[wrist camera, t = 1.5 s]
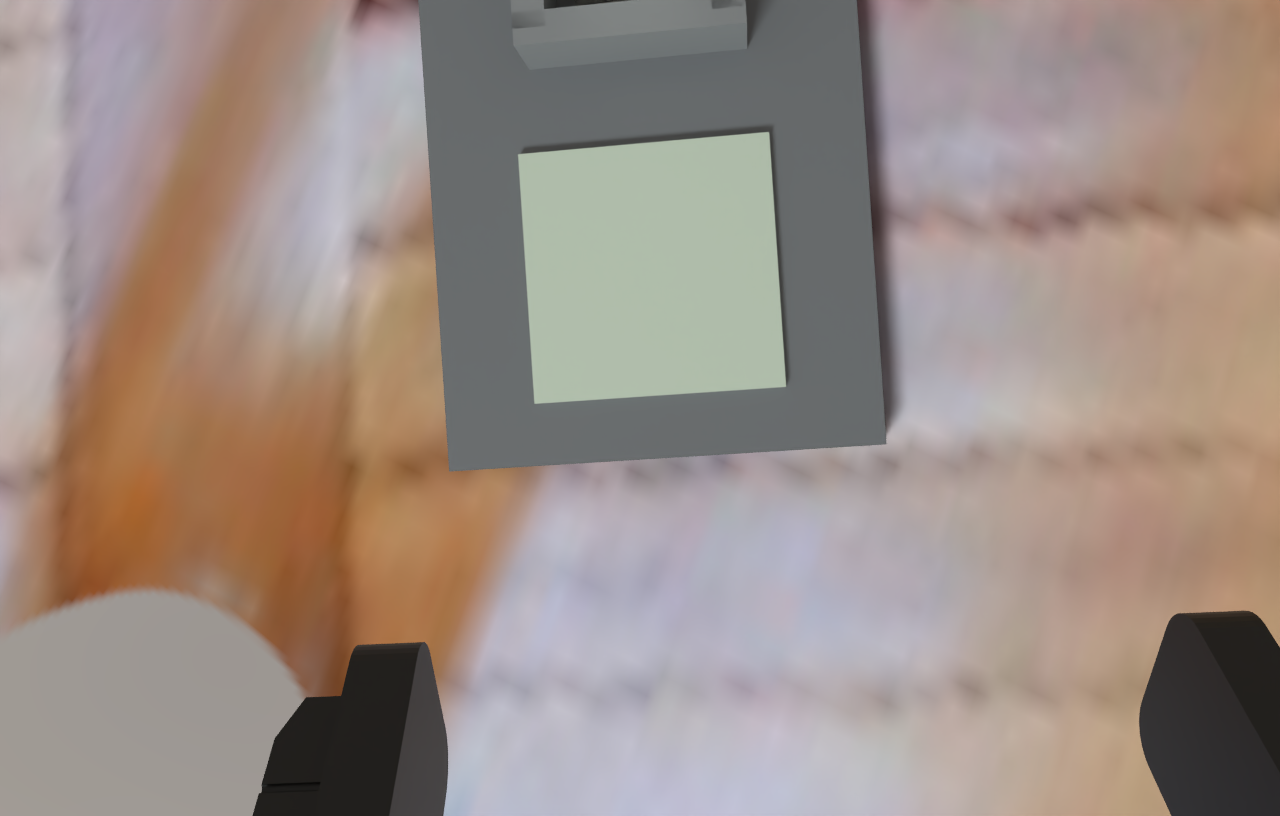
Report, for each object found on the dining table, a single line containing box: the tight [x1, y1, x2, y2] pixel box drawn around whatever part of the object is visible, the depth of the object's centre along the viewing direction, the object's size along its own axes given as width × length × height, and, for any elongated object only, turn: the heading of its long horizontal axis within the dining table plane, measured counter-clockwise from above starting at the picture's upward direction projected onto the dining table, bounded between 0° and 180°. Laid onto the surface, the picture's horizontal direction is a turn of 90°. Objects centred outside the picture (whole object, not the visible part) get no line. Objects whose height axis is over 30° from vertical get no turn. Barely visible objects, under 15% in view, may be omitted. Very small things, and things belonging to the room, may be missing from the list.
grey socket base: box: [418, 0, 886, 471], centre depth 35 cm, size 14×24×5 cm, turn 4°
